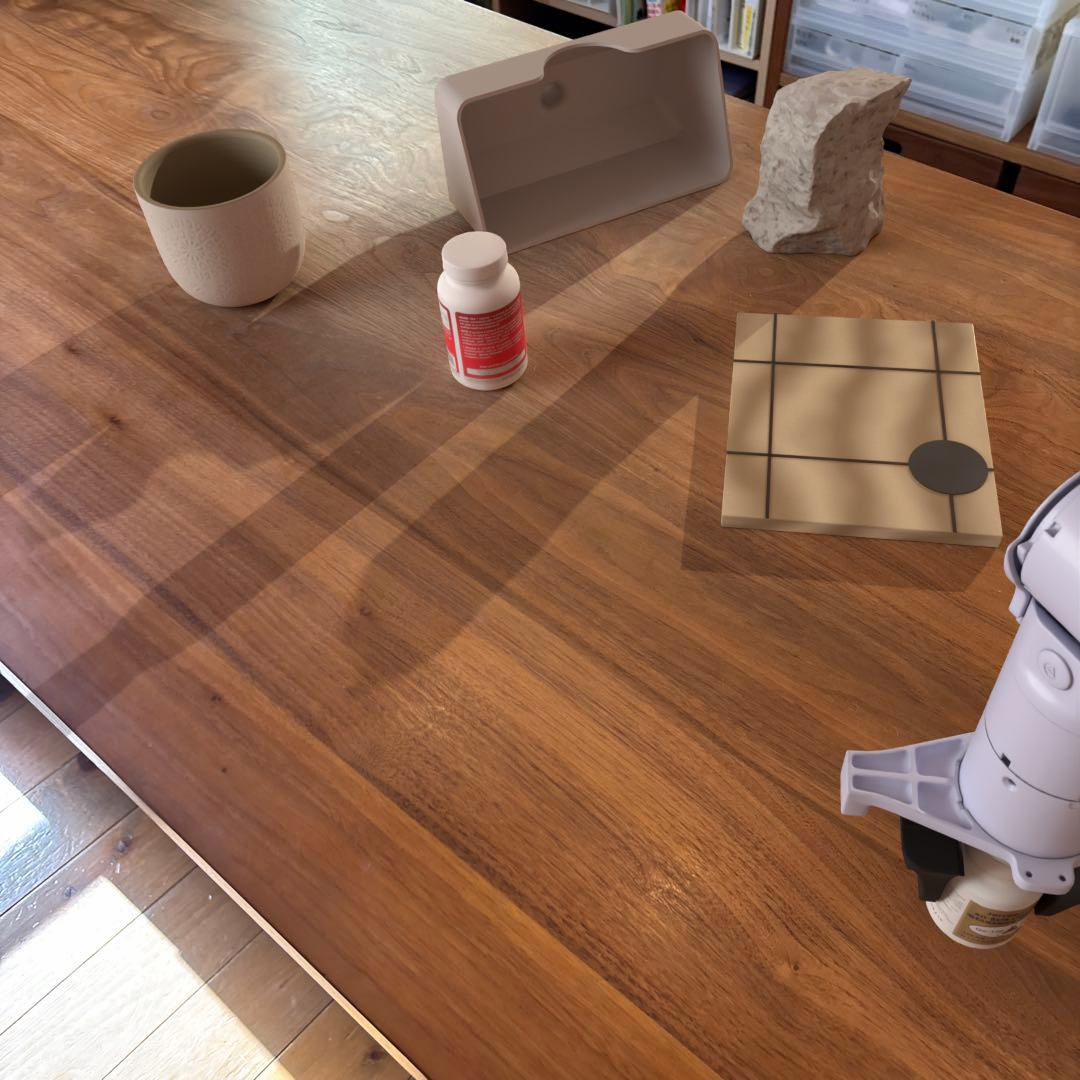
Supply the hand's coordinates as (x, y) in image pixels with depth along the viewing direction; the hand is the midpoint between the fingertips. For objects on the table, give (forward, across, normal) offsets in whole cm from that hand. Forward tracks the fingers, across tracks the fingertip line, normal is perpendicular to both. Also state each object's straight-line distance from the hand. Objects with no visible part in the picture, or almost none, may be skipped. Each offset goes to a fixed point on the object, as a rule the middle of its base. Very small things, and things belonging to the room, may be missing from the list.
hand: (981, 887), depth 51 cm
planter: (+7, -56, +52) cm, 77 cm away
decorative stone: (+7, -7, +62) cm, 63 cm away
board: (+7, -4, +38) cm, 39 cm away
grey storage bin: (+7, -29, +70) cm, 76 cm away
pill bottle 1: (+7, -32, +42) cm, 53 cm away
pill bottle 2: (+2, 0, 0) cm, 2 cm away
